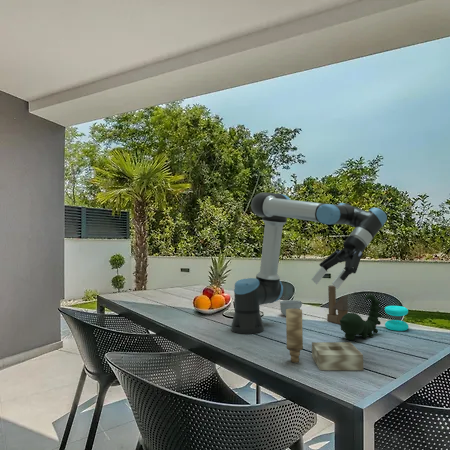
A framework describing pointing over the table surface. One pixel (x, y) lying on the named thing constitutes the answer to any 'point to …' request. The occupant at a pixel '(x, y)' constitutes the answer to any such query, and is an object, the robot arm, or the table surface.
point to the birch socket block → (337, 356)
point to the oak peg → (294, 333)
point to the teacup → (289, 305)
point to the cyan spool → (396, 324)
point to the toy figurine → (362, 321)
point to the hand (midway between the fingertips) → (323, 283)
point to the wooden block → (336, 306)
